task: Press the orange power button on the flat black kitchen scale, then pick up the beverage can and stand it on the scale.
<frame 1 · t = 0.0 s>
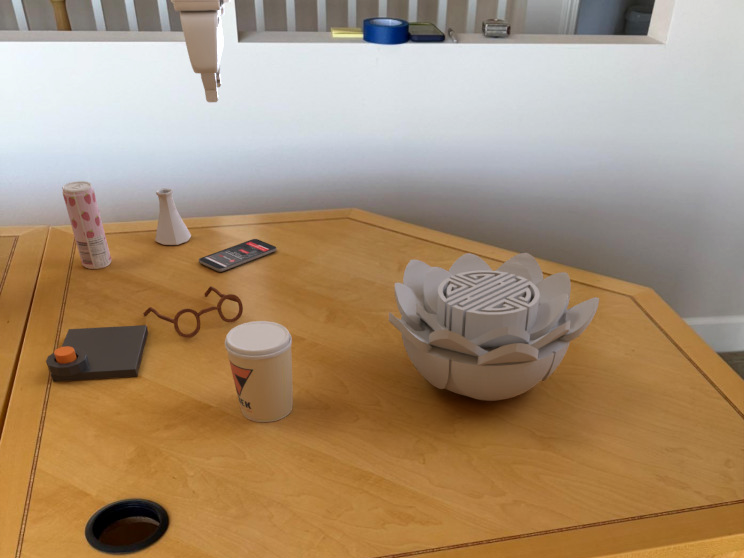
hand: (214, 93, 122), 34 cm above the table, tool pointing down, fingers open, 8 cm apart
decorative bowl: (476, 378, 123), on the table
glasses: (194, 319, 138), on the table
beverage can: (97, 264, 155), on the table
flask: (173, 240, 164), on the table
power button: (65, 355, 121), point 3 cm above the table, slide at 0.1 cm
scale: (102, 355, 127), on the table
coffee cup: (267, 409, 116), on the table
smartphone: (238, 257, 157), on the table
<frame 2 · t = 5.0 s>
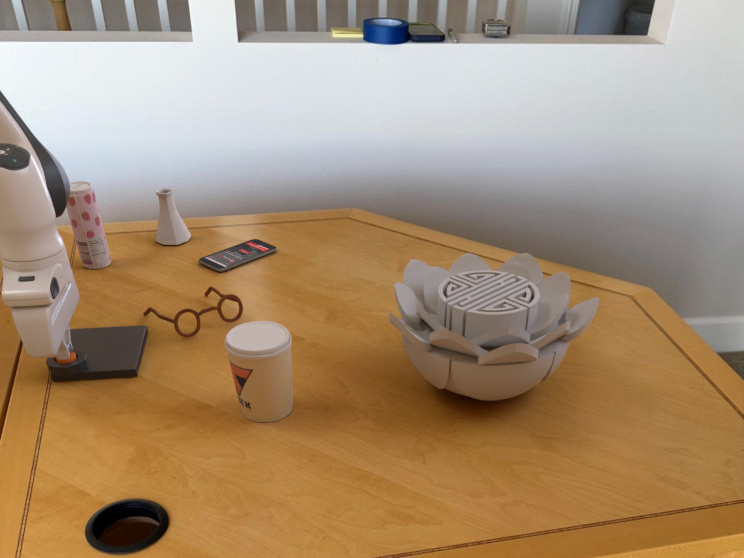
hand: (66, 355, 121), 3 cm above the table, tool pointing down, fingers closed, pressing on power button
power button: (66, 359, 121), point 3 cm above the table, slide at -0.7 cm, touching gripper
everything else where it was.
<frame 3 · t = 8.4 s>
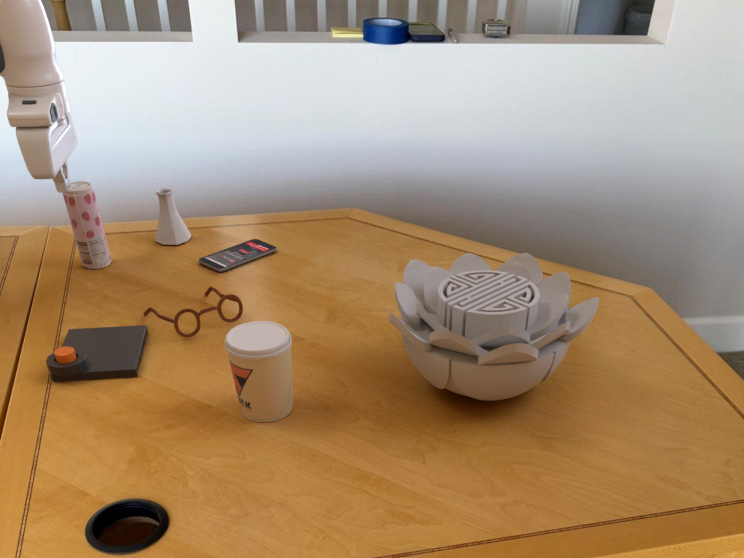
hand: (64, 189, 135), 18 cm above the table, tool pointing down, fingers closed
power button: (65, 355, 121), point 3 cm above the table, slide at 0.1 cm
everything else where it was.
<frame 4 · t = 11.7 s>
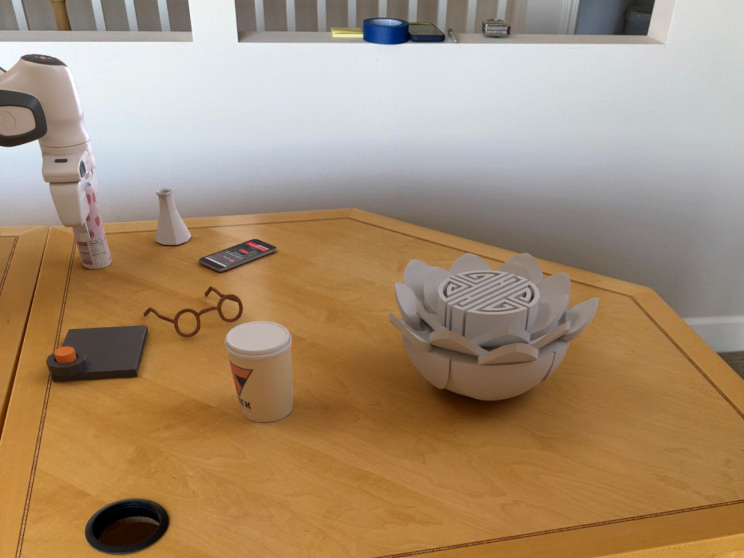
hand: (89, 233, 151), 6 cm above the table, tool pointing down, fingers closed on beverage can, 5 cm apart
beverage can: (97, 264, 155), on the table, touching gripper
everything else where it was.
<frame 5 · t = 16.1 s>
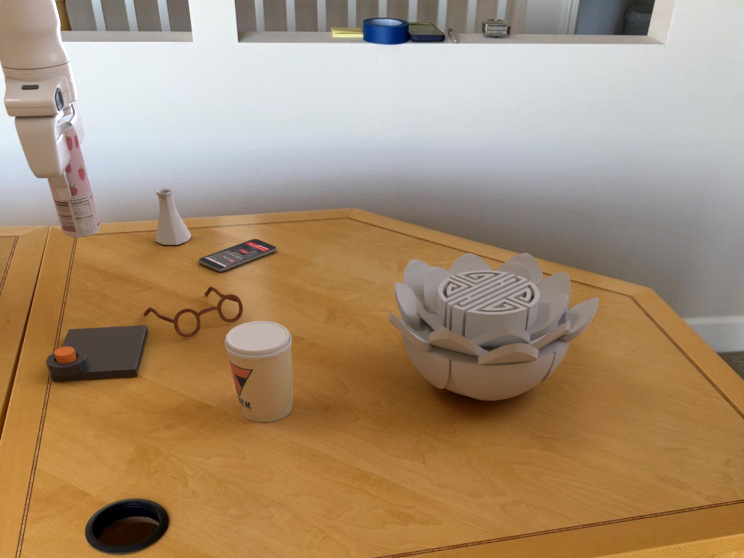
hand: (70, 190, 116), 24 cm above the table, tool pointing down, fingers closed on beverage can, 5 cm apart
beverage can: (82, 232, 120), point 18 cm above the table, touching gripper
everything else where it was.
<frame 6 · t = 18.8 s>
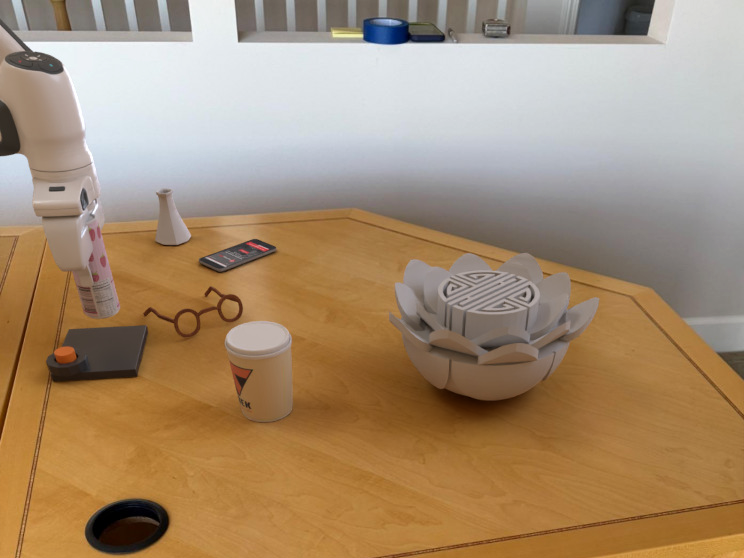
hand: (92, 275, 121), 12 cm above the table, tool pointing down, fingers closed on beverage can, 5 cm apart
beverage can: (103, 312, 126), point 6 cm above the table, touching gripper
everything else where it was.
when the fingers open (7 cm above the table, at t = 20.7 s): beverage can stays where it is, resting on scale.
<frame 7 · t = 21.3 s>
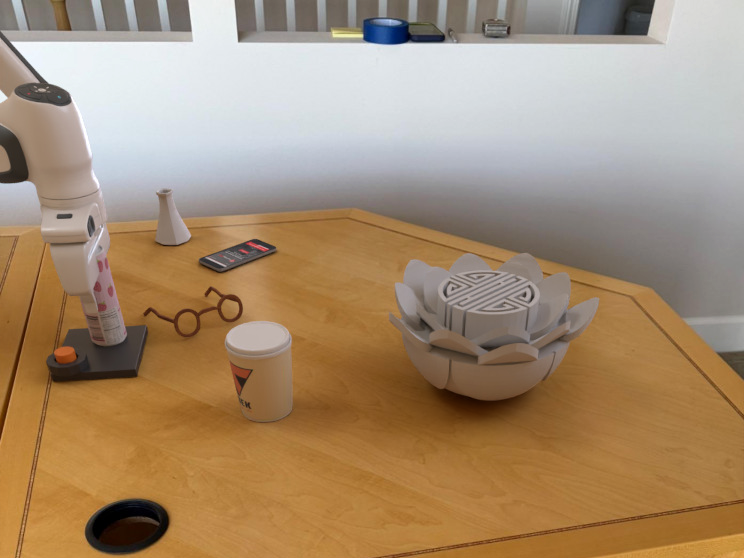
hand: (98, 297, 124), 9 cm above the table, tool pointing down, fingers open, 8 cm apart
beverage can: (110, 339, 129), point 1 cm above the table, touching scale
everything else where it was.
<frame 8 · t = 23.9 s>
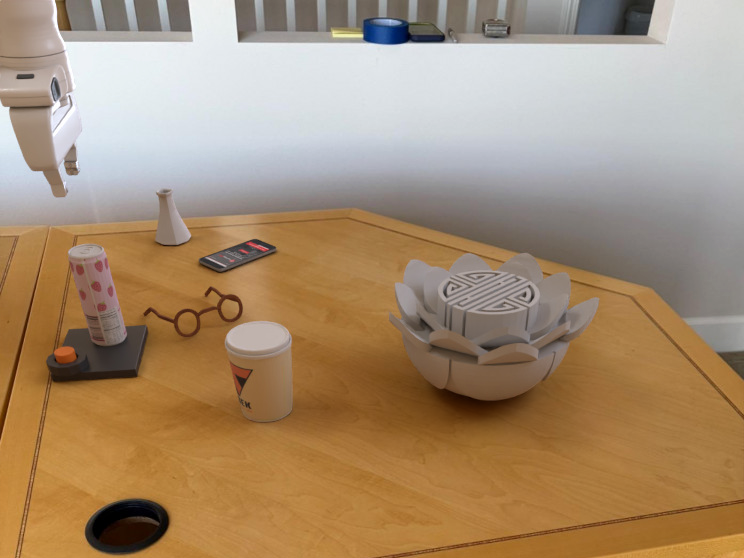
hand: (67, 184, 112), 26 cm above the table, tool pointing down, fingers open, 8 cm apart
nothing on the table moved.
at the end: power button pushed in 0.9 cm at the most during the clip, back to where it started at the end; beverage can inside the target area on the scale (3.3 cm from its centre), point 1.2 cm above the scale's base; beverage can touching scale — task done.
